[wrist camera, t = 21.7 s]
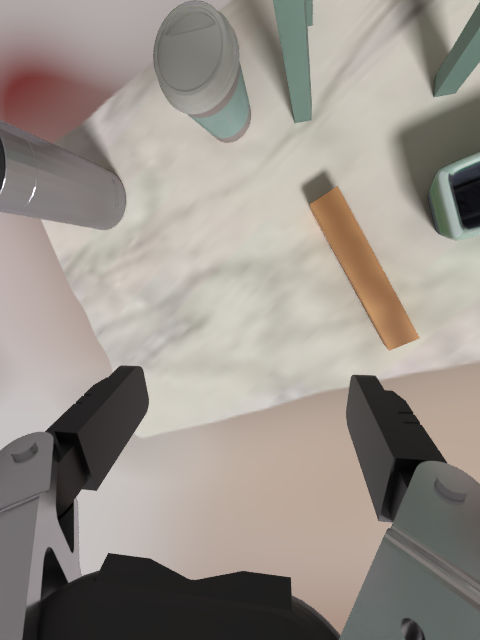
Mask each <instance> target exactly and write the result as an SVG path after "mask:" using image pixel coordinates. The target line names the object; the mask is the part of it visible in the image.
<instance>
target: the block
mask: <svg viewBox="0 0 480 640" xmlns="http://www.w3.org/2000/svg"><path fill="white" fill-rule="evenodd" d="M310 208H311V211H312V213H313V215H314V217H315V218H316V220H317V222H318V224H319V226H320V228H321V229H322V231H323V233H324V235H325V237H326V239H327V240H328V242H329V244H330V246H331V248H332V250H333V252H334V253H335V255H336V257H337V259H338V261H339V263H340V264H341V266H342V268H343V270H344V272H345V274H346V275H347V277H348V279H349V281H350V283H351V285H352V287H353V288H354V290H355V292H356V294H357V296H358V298H359V299H360V301H361V303H362V305H363V307H364V309H365V310H366V312H367V314H368V316H369V318H370V320H371V322H372V323H373V325H374V327H375V329H376V331H377V333H378V334H379V336H380V338H381V340H382V342H383V344H384V345H385V346H386V347H387V349H388V350H389V351H390V350H392V349H394V348H397V347H399V346H402V345H404V344H407V343H409V342H412V341H414V340H416V339H419V336H418V334H417V332H416V331H415V329H414V327H413V325H412V323H411V321H410V319H409V318H408V316H407V314H406V312H405V310H404V308H403V306H402V305H401V303H400V301H399V299H398V297H397V295H396V293H395V292H394V290H393V288H392V286H391V284H390V282H389V280H388V279H387V277H386V275H385V273H384V271H383V269H382V267H381V266H380V264H379V262H378V260H377V258H376V256H375V254H374V253H373V251H372V249H371V247H370V245H369V243H368V242H367V240H366V238H365V236H364V234H363V232H362V230H361V229H360V227H359V225H358V223H357V221H356V219H355V217H354V216H353V214H352V212H351V210H350V208H349V206H348V204H347V203H346V201H345V199H344V197H343V195H342V193H341V191H340V190H339V188H338V186H337V187H336V188H334V189H333V190H331V191H330V192H328V193H326V194H325V195H323V196H322V197H320V198H319V199H317V200H316V201H314V202H313V203H311V204H310Z"/></svg>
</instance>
